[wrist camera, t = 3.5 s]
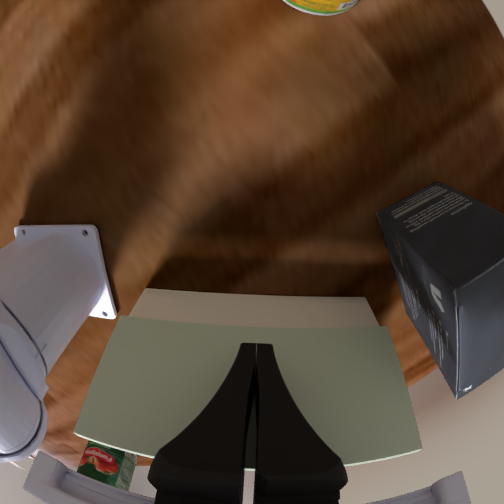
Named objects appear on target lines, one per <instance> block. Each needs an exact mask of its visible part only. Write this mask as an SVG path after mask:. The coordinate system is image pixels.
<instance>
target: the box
mask: <svg viewBox="0 0 504 504" xmlns="http://www.w3.org/2000/svg"><path fill="white" fill-rule="evenodd" d="M376 215H377V218H378V220H379V223H380V225H381V228H382V234H383V235H384V238H385V246H386V248H387V249H388V253H389V257H390V258H391V262H392V265H393V267H394V270H395V274H396V277H397V280H398V284H399V287H400V291H401V294H402V300H403V303H404V306H405V310H406V313H407V315H408V316H409V318H410V320H411V321H412V323H413V325H414V326H415V328H416V329H417V331H418V333H419V334H420V336H421V338H422V339H423V341H424V342H425V344H426V346H427V348H428V349H429V351H430V353H431V355H432V356H433V358H434V359H435V362H436V363H437V365H438V367H439V369H440V370H441V372H442V374H443V376H444V378H445V380H446V381H447V383H448V385H449V387H450V389H451V390H452V392H453V394H454V396H455V398H456V399H459V398H461V397H463V396H464V395H466V394H468V393H469V392H471V391H472V390H474V389H475V388H477V387H478V386H480V385H481V384H482V383H484V382H485V381H487V380H488V379H490V378H491V377H492V376H494V375H495V374H496V373H498V372H499V371H501V370H502V369H503V368H504V215H503V214H501V213H500V212H498V211H496V210H495V209H493V208H491V207H489V206H487V205H485V204H484V203H482V202H480V201H478V200H476V199H474V198H472V197H470V196H468V195H466V194H464V193H462V192H460V191H458V190H456V189H453V188H452V187H449V186H447V185H445V184H443V183H440V182H436V183H434V184H432V185H430V186H428V187H426V188H424V189H421V190H420V191H418V192H416V193H414V194H412V195H411V196H409V197H407V198H405V199H403V200H401V201H399V202H397V203H395V204H393V205H391V206H389V207H387V208H385V209H383V210H381V211H379V212H377V213H376Z"/></svg>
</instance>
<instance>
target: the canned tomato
mask: <svg viewBox="0 0 504 504" xmlns="http://www.w3.org/2000/svg"><path fill="white" fill-rule="evenodd" d="M137 458H138V455H137V454H133V453H129V452H126V451H122V450H119V449H115V448H112V447H109V446H105V445H102V444H99V443H96V442H93V441H90V440H89V441H88V444H87V446H86V448H85V451H84V454H83V456H82V459H81V462H80V464H79V467H78V469H77V473H80V474H82V475H84V476H87V477H89V478H92V479H94V480H97V481H100V482H102V483H105V484H108V485H111V486H113V487H116V488H119V489H123V490H126V491H129V487H130V483H131V479H132V476H133V472H134V469H135V466H136V462H137Z"/></svg>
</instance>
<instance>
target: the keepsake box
mask: <svg viewBox="0 0 504 504" xmlns="http://www.w3.org/2000/svg"><path fill="white" fill-rule="evenodd" d="M129 316H131V317H139V318H148V319H157V320H166V321H177V322H188V323H200V324H214V325H230V326H249V327H278V328H352V327H380V326H379V324H378V322H377V320H376V318H375V316H374V314H373V312H372V310H371V308H370V306H369V304H368V302H367V300H366V298H365V297H314V296H274V295H248V294H227V293H208V292H192V291H177V290H164V289H151V288H145V290H144V291H143V293H142V295H141V296H140V298H139V300H138V301H137V303H136V304H135V306H134V308H133V309H132V311H131V313H130V314H129Z"/></svg>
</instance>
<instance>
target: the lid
mask: <svg viewBox="0 0 504 504" xmlns="http://www.w3.org/2000/svg"><path fill="white" fill-rule="evenodd" d="M241 343H265V344H272V345H273V349H274V354H275V358H276V361H277V364H278V367H279V370H280V372H281V375H282V377H283V380H284V382H285V384H286V386H287V388H288V390H289V392H290V394H291V396H292V398H293V400H294V402H295V403H296V405H297V407H298V408H299V410H300V411H301V413H302V414H303V416H304V417H305V419H306V420H307V422H308V423H309V424H310V426H311V427H312V428H313V429H314V431H315V432H316V433H317V434H318V436H319V437H320V438H321V439H322V440H323V441H324V442H325V443H326V445H327V446H328V447H329V448H330V449H331V450H332V451H333V452H335V453H336V454H337V455H338V456H339V457H340V458H341V460H342V462H343V465H344V467H345V466H352V465H358V464H365V463H370V462H376V461H381V460H386V459H390V458H395V457H399V456H403V455H407V454H411V453H415V452H418V451H419V450H421V449H422V444H421V440H420V435H419V431H418V427H417V423H416V418H415V415H414V411H413V407H412V403H411V400H410V396H409V393H408V389H407V385H406V382H405V379H404V375H403V372H402V369H401V366H400V362H399V359H398V356H397V353H396V350H395V347H394V344H393V341H392V338H391V336H390V333H389V330H388V327H387V326H380V327H352V328H278V327H249V326H230V325H214V324H200V323H188V322H177V321H166V320H157V319H148V318H139V317H131V316H123V315H121V316H120V318H119V320H118V322H117V324H116V326H115V328H114V331H113V333H112V335H111V337H110V340H109V342H108V344H107V346H106V349H105V351H104V353H103V356H102V358H101V360H100V363H99V365H98V367H97V370H96V372H95V375H94V377H93V380H92V382H91V385H90V387H89V390H88V393H87V395H86V398H85V401H84V403H83V406H82V409H81V411H80V414H79V417H78V420H77V423H76V426H75V429H74V433H75V434H76V435H77V436H79V437H82V438H85V439H88V440H90V441H93V442H96V443H99V444H102V445H105V446H109V447H112V448H115V449H119V450H122V451H126V452H129V453H133V454H137V455H141V456H145V457H150V458H154V457H155V455H156V454H157V452H158V451H159V449H160V448H162V447H163V446H164V445H166V444H167V443H168V442H169V441H171V440H172V439H173V438H175V437H176V436H177V435H178V434H179V433H181V432H182V431H183V430H184V429H185V428H186V427H187V426H188V425H189V424H190V423H191V422H192V421H193V420H194V419H195V418H196V417H197V416H198V415H199V414H200V413H201V411H202V410H203V409H204V408H205V407H206V406H207V404H208V403H209V402H210V400H211V399H212V398H213V396H214V395H215V394H216V392H217V391H218V389H219V388H220V386H221V384H222V383H223V381H224V380H225V378H226V376H227V374H228V373H229V371H230V369H231V367H232V365H233V363H234V361H235V358H236V356H237V354H238V351H239V348H240V344H241ZM256 352H257V345H256ZM255 374H256V369H255ZM256 445H257V427H256V408H255V388H254V397H253V403H252V409H251V415H250V421H249V427H248V433H247V443H246V457H245V471H246V470H247V471H255V464H256Z"/></svg>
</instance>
